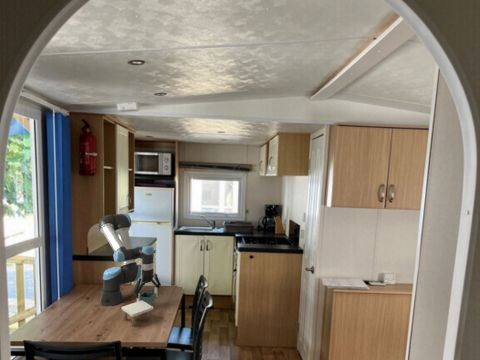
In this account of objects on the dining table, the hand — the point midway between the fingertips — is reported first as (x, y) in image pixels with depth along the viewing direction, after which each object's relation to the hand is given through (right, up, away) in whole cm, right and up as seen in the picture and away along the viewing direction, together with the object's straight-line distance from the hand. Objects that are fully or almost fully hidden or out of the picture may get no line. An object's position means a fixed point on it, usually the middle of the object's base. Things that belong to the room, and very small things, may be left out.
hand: (147, 299), depth 196 cm
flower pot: (0, -6, 0) cm, 6 cm away
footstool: (-1, -6, -17) cm, 18 cm away
